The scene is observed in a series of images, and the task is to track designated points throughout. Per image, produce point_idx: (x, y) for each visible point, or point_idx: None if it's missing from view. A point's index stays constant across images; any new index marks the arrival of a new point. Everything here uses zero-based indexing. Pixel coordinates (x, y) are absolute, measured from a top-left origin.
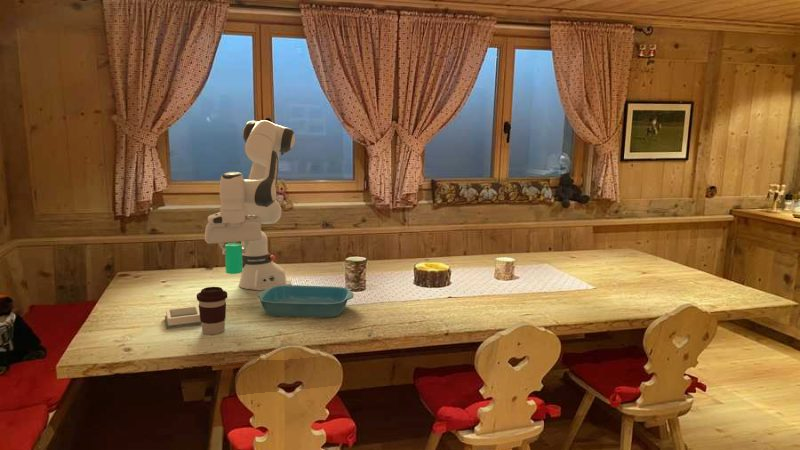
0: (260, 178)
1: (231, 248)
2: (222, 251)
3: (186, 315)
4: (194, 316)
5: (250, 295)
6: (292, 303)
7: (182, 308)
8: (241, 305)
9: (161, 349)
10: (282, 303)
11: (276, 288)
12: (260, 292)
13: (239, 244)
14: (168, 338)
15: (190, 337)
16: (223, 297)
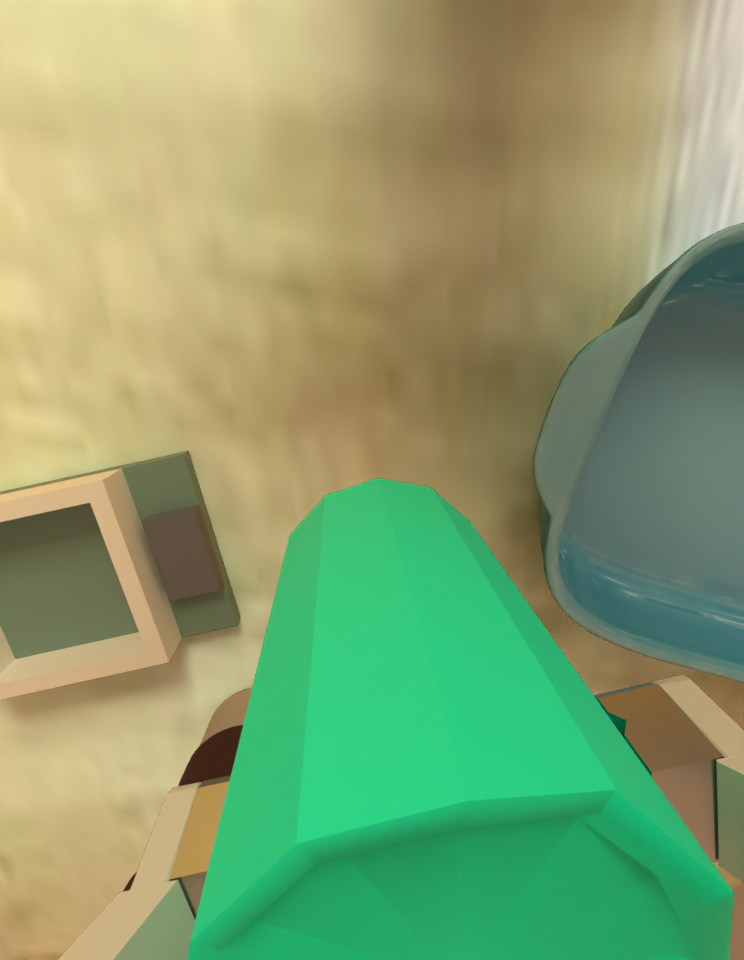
0: None
1: None
2: (156, 834)
3: (61, 523)
4: (130, 668)
5: (463, 37)
6: (734, 679)
7: (5, 520)
8: (394, 310)
9: (71, 891)
10: (674, 663)
11: (708, 254)
12: (565, 401)
13: (673, 887)
14: (62, 788)
15: (166, 787)
16: None
